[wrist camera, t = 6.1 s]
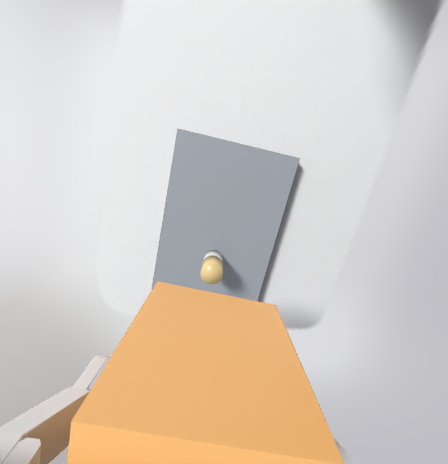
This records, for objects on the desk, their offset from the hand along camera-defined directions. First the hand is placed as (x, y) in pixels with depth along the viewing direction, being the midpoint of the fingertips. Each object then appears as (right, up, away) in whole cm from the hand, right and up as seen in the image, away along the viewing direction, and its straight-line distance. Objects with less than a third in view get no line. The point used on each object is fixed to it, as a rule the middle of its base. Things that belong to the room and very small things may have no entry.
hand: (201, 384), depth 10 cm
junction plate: (+1, +8, +19) cm, 20 cm away
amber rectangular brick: (0, +1, +3) cm, 3 cm away
